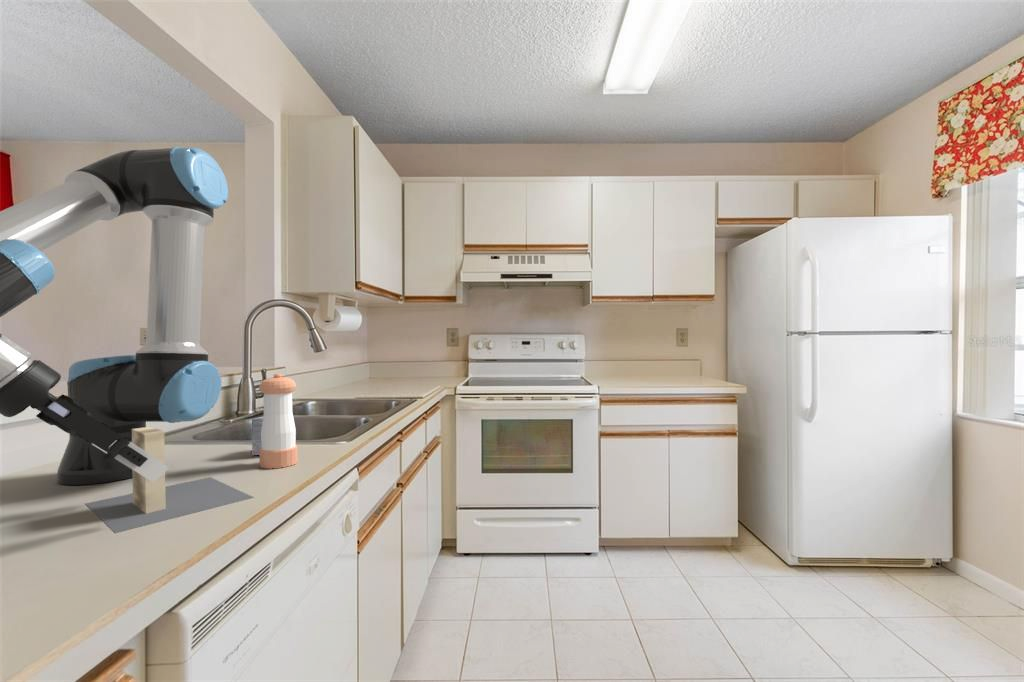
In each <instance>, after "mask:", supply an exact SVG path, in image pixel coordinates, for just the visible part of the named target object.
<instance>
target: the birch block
mask: <svg viewBox="0 0 1024 682" xmlns="http://www.w3.org/2000/svg"><path fill="white" fill-rule="evenodd" d="M165 441H166V440H165V430H162V429H158V428H155V427H153V426H146V427H144V428H136V429H132V443H133V444H135V445H137V446H138V447H140V448H141V449H143V450H144V451H146V452H147V453H149V454H150V455H152V456H153V457H155V458H156V459H158V460H160V461H161V462H163V463H164V464H166V459H165V458H166V453H165V452H166V448H165V443H166V442H165ZM132 472H133V477H132V494H133V504H134V505H135V506H137V507H138V508H139V509H141V510H142V511H143V512H145V513H150V512H155V511H159V510H163V509H166V495H165V487H166V471H165V472H164V473H163V475H162V476H161V477H160V478H159V479H158V480H157V481H156V482H155V483H153V482H152V481H150V480H149V479H147V478H145V477H144V476H142V475H141V474H139V473H137V472H136V471H134V470H132Z"/></svg>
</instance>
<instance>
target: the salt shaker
mask: <svg viewBox="0 0 1024 682" xmlns="http://www.w3.org/2000/svg"><path fill="white" fill-rule="evenodd" d="M296 388H297V383H296V381H294V379H293V378H290V377H284V376H283V375H282V373H274V374H273V377H269V378H268V377H267V378H265V379H263V380H262V381H261V383H260V384H259V386H258V389H259V392H260V394H261V393H262V394H263V423H262V429H261V446H262V448H261V449H260V451H259V452H260V456H259V467H260V468H261V469H269V470H270V469H272V468H274V469H281V467H283V468H287V466H288V467H291V465H292V466H294V464H295V465H297V464H298V462H299V460H298V457H299V456H298V453H299V451H298V450H299V449H298V445H297V444H296V443H297V442H296V441H297V440H296V437H297V429H296V424H295V423H296V422H295V419H294V414H293V392H294V391H295V390H296ZM272 470H273V469H272Z"/></svg>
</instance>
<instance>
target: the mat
mask: <svg viewBox="0 0 1024 682" xmlns="http://www.w3.org/2000/svg"><path fill="white" fill-rule="evenodd" d="M165 495H166V509H163V510H159V511H155V512H150V513H145V512H143V511H142V510H141V509H139V508H138V507H137V506H135V505H134V504H133V493H130V494H128V493H127V494H124V495H119V496H115V497H110V498H105V499H101V500H96V501H91V502H86V503H85V504H84V505H86V506H87V508H89V510H91V511H92V512H93V513H94V514H95V515H96V517H98V518H99V519H100V520H101V521H102V522H103V523H104V524H105V525H106V526H107V527H108V528H109V529H110V530H112V531H113V533H114V534H118V533H122V532H127V531H129V530H132V529H133V530H134V529H137V528H141V527H145V526H148V525H149V526H150V525H153V524H157V523H161V522H163V521H164V522H165V521H169V520H172V519H177V518H180V517H185V516H187V515H192V514H196V513H201V512H203V511H208V510H211V509H215V508H219V507H223V506H226V505H230V504H234V503H239V502H242V501H246V500H247V501H248V500H250V499H254V498H255V497H254V496H252V495H251V494H248V493H246V492H244V491H241V490H239V489H237V488H234V487H233V486H231V485H228V484H226V483H224V482H221V481H220V480H217V479H215V478H213V477H204V478H201V479H200V478H199V479H196V480H195V479H194V480H189V481H185V482H180V483H175V484H172V485H167V486H166V485H165Z"/></svg>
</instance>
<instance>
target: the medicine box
mask: <svg viewBox="0 0 1024 682" xmlns="http://www.w3.org/2000/svg"><path fill="white" fill-rule="evenodd" d="M263 416H264V415H263ZM263 416H259V417H255V418H251V452H252V454H251V455H252V456H253V455H259V456H258V457H260V452H259V451H260V449H261V448H262V446H261V429H262V423H263Z"/></svg>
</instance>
